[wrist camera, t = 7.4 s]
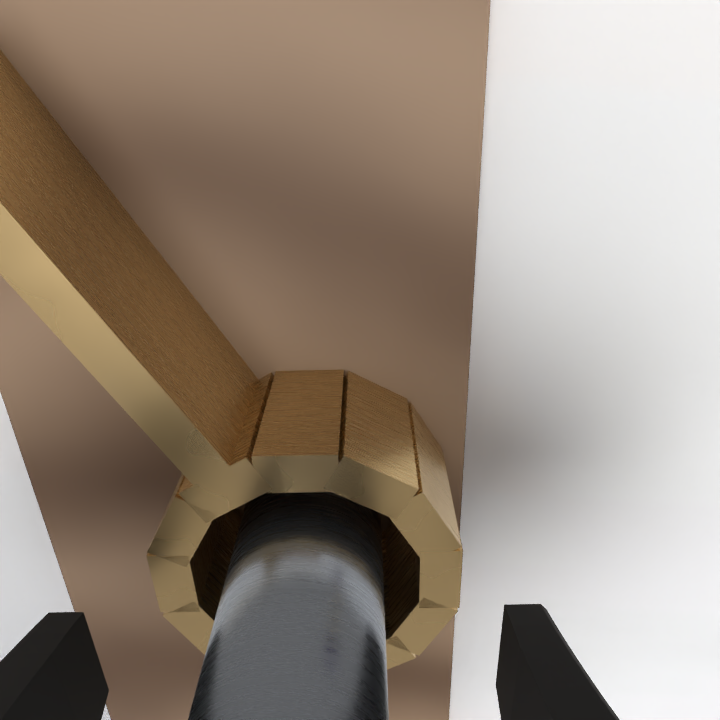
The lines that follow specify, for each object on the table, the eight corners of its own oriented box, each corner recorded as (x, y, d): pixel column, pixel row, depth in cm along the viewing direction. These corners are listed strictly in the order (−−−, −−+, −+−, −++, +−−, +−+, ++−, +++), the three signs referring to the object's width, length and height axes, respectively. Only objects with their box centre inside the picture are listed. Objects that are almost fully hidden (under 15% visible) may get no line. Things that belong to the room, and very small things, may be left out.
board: (442, 746, 21) (445, 776, 20) (141, 749, 21) (131, 779, 20) (483, -47, 11) (493, -57, 10) (-102, -26, 11) (-143, -34, 10)
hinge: (430, 753, 19) (442, 873, 17) (158, 756, 20) (123, 875, 17) (460, 14, 10) (497, -4, 7) (-55, 31, 10) (-214, 20, 8)
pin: (380, 523, 15) (392, 848, 9) (262, 526, 15) (191, 851, 9) (377, 422, 14) (389, 720, 8) (248, 426, 14) (153, 724, 8)
